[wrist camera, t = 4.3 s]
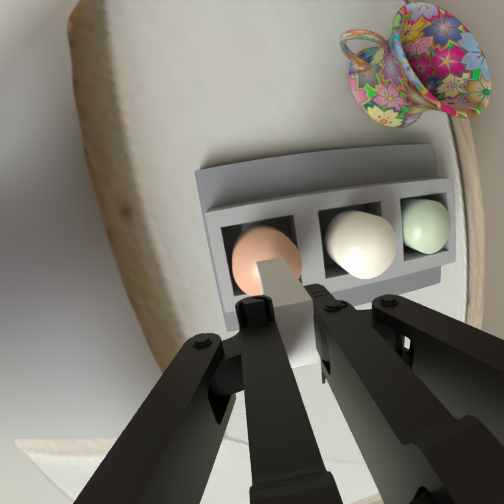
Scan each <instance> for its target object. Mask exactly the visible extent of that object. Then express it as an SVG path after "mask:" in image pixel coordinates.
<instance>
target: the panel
mask: <svg viewBox="0 0 504 504" xmlns="http://www.w3.org/2000/svg"><path fill="white" fill-rule="evenodd" d="M195 177H196V182H197V188H198V193H199V199H200V204H201V209H202V214H203V220H204V225H205V230H206V235H207V240H208V245H209V250H210V255H211V260H212V265H213V269H214V274H215V279H216V283H217V288H218V293H219V297H220V302H221V306H222V311H223V315H224V319H225V324H226V328H227V332H230V331H236V330H239V323H238V319H237V314H236V309H235V304H236V303H237V302H238V301H239V300H241V299H243V298H246V297H250V296H249V295H248V294H246V293H245V292H244V291H243V290H241V288H240V287H239V286H238V284H237V283H236V281H235V278H234V275H233V269H232V251H233V246H234V243H235V241H236V239H237V238H238V236H239V235H240V234H241V233H242V232H243V231H245V230H246V229H248V228H250V227H252V226H255V225H270V226H273V227H275V228H277V229H279V230H280V231H281V232H283V233H284V234H285V235H286V236H287V237H288V238H289V239H290V240H291V241H292V242H293V243H294V245H295V246H296V247H297V249H298V251H299V253H300V256H301V260H302V270H301V274H300V277H299V279H298V280H299V281H300V283H301V284H302V285H303V286H306V285H311V284H316V283H317V284H320V285H323V286H325V288H326V289H327V290H328V291H329V292H330V294H332V295H333V297H334V298H335V299H336V300H344V301H347V302H349V303H350V304H351V305H352V306H357V305H361V304H365V303H369V302H372V301H373V300H374V299H375V298H377V297H379V296H382V295H385V294H386V295H387V294H392V295H399V294H403V293H407V292H410V291H414V290H417V289H421V288H424V287H427V286H431V285H434V284H437V283H440V277H441V265H444V264H448V263H451V262H455V256H456V229H455V203H454V189H453V178H443V177H437V172H436V163H435V156H434V149H433V144H411V145H390V146H373V147H360V148H348V149H337V150H327V151H318V152H309V153H301V154H293V155H286V156H279V157H272V158H265V159H258V160H252V161H246V162H240V163H234V164H228V165H223V166H217V167H212V168H207V169H202V170H197V171H195ZM410 197H411V198H419V199H426V200H433V201H437V202H439V203H441V204H442V205H443V206H444V207H445V208H446V210H447V211H448V214H449V217H450V224H451V225H450V233H449V237H448V239H447V241H446V243H445V245H444V246H443V247H442V248H441V249H440V250H439V251H437V252H435V253H432V254H426V253H423V252H420V251H418V250H416V249H413V248H411V247H408V246H406V245H404V244H403V234H402V219H401V206H400V201H401V200H403V199H405V198H410ZM346 210H357V211H361V212H365V213H369V214H373V215H376V216H379V217H382V218H384V219H385V220H386V221H388V222H389V223H390V225H391V226H392V228H393V229H394V232H395V234H396V239H397V249H396V254H395V257H394V259H393V261H392V263H391V265H390V266H389V267H388V268H387V270H386V271H384V272H383V273H382V274H380V275H379V276H377V277H374V278H370V279H360V278H357V277H355V276H353V275H351V274H350V273H349V272H347V271H346V270H345V269H344V268H342V267H341V266H340V265H339V264H337V263H336V262H335V261H334V260H333V259H332V258H331V257H330V256H329V255H328V253H327V251H326V248H325V244H324V235H325V231H326V228H327V226H328V224H329V222H330V221H331V220H332V218H333V217H334V216H336V215H337V214H338V213H340V212H343V211H346Z"/></svg>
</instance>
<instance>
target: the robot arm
mask: <svg viewBox="0 0 504 504" xmlns="http://www.w3.org/2000/svg"><path fill="white" fill-rule="evenodd" d="M256 265H257V271H258V277H259V283H260V289H261V294H262V295H256V296H250V297H246V298H243V299H241V300H239V301H238V302H237V303H236V304H235V309H236V314H237V319H238V323H239V332H238V333H237V334H236V335H235V336H233V337H231V338H229V339H226V340H223V341H221V338H220V336H219V335H217V334H214V333H205V334H204V333H201V334H199V335H195V336H194V337H192V338H190V339H188V340H187V341H186V342H185V343H184V345H183V346H182V348H181V349H180V350H179V352H178V353H177V355H176V356H175V358H174V359H173V360H172V362H171V363H170V365H169V366H168V368H167V369H166V370H165V372H164V373H163V375H162V376H161V378H160V379H159V380H158V382H157V384H156V385H155V386H154V388H153V389H152V390H151V392H150V393H149V395H148V397H147V398H146V399H145V401H144V402H143V403H142V405H141V406H140V408H139V409H138V411H137V412H136V413H135V415H134V416H133V418H132V419H131V421H130V422H129V424H128V425H127V426H126V428H125V429H124V431H123V432H122V434H121V435H120V436H119V438H118V439H117V441H116V442H115V444H114V445H113V447H112V448H111V449H110V451H109V452H108V454H107V455H106V457H105V458H104V460H103V461H102V462H101V464H100V465H99V467H98V468H97V470H96V471H95V473H94V474H93V475H92V477H91V478H90V480H89V481H88V483H87V484H86V486H85V487H84V488H83V490H82V491H81V493H80V494H79V496H78V497H77V499H76V500H75V501H74V503H73V504H200V501H201V498H202V496H203V493H204V490H205V487H206V484H207V482H208V479H209V476H210V473H211V470H212V468H213V465H214V462H215V459H216V456H217V453H218V451H219V448H220V445H221V442H222V439H223V436H224V433H225V430H226V427H227V424H228V421H229V418H230V415H231V412H232V409H233V406H234V403H235V400H236V394H235V393H237V392H240V391H242V390H244V395H245V407H246V418H247V429H248V440H249V451H250V462H251V472H252V486H251V487H250V491H249V493H250V504H343V502H342V499H341V496H340V494H339V491H338V488H337V485H336V482H335V480H334V478H333V475H332V474H331V472H330V471H328V472H327V470H326V469H325V466H324V463H323V460H322V457H321V454H320V451H319V448H318V445H317V442H316V439H315V436H314V433H313V430H312V427H311V424H310V421H309V418H308V415H307V412H306V410H305V407H304V404H303V401H302V398H301V395H300V392H299V389H298V386H297V383H296V380H295V377H294V374H293V371H292V368H294V367H299V366H304V365H308V364H312V363H317V362H318V353H319V355H320V357H321V370H322V383H325V379H327V381H328V383H329V385H330V387H331V390H332V392H333V394H334V396H335V398H336V400H337V402H338V404H339V406H340V409H341V411H342V413H343V415H344V417H345V419H346V421H347V423H348V426H349V428H350V430H351V432H352V434H353V436H354V438H355V441H356V443H357V445H358V447H359V449H360V451H361V454H362V456H363V458H364V460H365V462H366V464H367V467H368V469H369V471H370V473H371V475H372V477H373V480H374V482H375V484H376V486H377V488H378V490H379V493H380V495H381V497H382V499H383V502H384V504H504V340H502V339H500V338H498V337H495V336H493V335H491V334H488V333H486V332H484V331H482V330H479V329H477V328H475V327H472V326H470V325H468V324H465V323H463V322H461V321H458V320H456V319H454V318H451V317H449V316H447V315H444V314H442V313H440V312H437V311H435V310H433V309H430V308H428V307H425V306H423V305H421V304H418V303H416V302H414V301H411V300H409V299H406V298H404V297H402V296H398V295H392V294H387V295H386V294H385V295H382V296H379V297H377V298H375V299H374V300H373V301H372V309H368V310H356V309H355V308H354V307H353V306H352V305H351V304H350V303H349V302H347V301H344V300H336V299H335V298H334V297H333V295H332V294H330V292H329V291H328V290H327V289H326V288H325V286H323V285H320V284H317V283H316V284H311V285H306V286H303V285H302V284H301V283H300V281H299V280H298V278H297V277H296V275H295V274H294V273H293V271H292V270H291V268H290V267H289V266H288V264H287V263H286V261H285V260H284V258H283V257H279V258H273V259H268V260H263V261H257V262H256ZM405 336H406V337H407V338H409V339H410V348H409V349H407V348H405V347H404V340H405ZM317 351H318V352H317Z"/></svg>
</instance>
